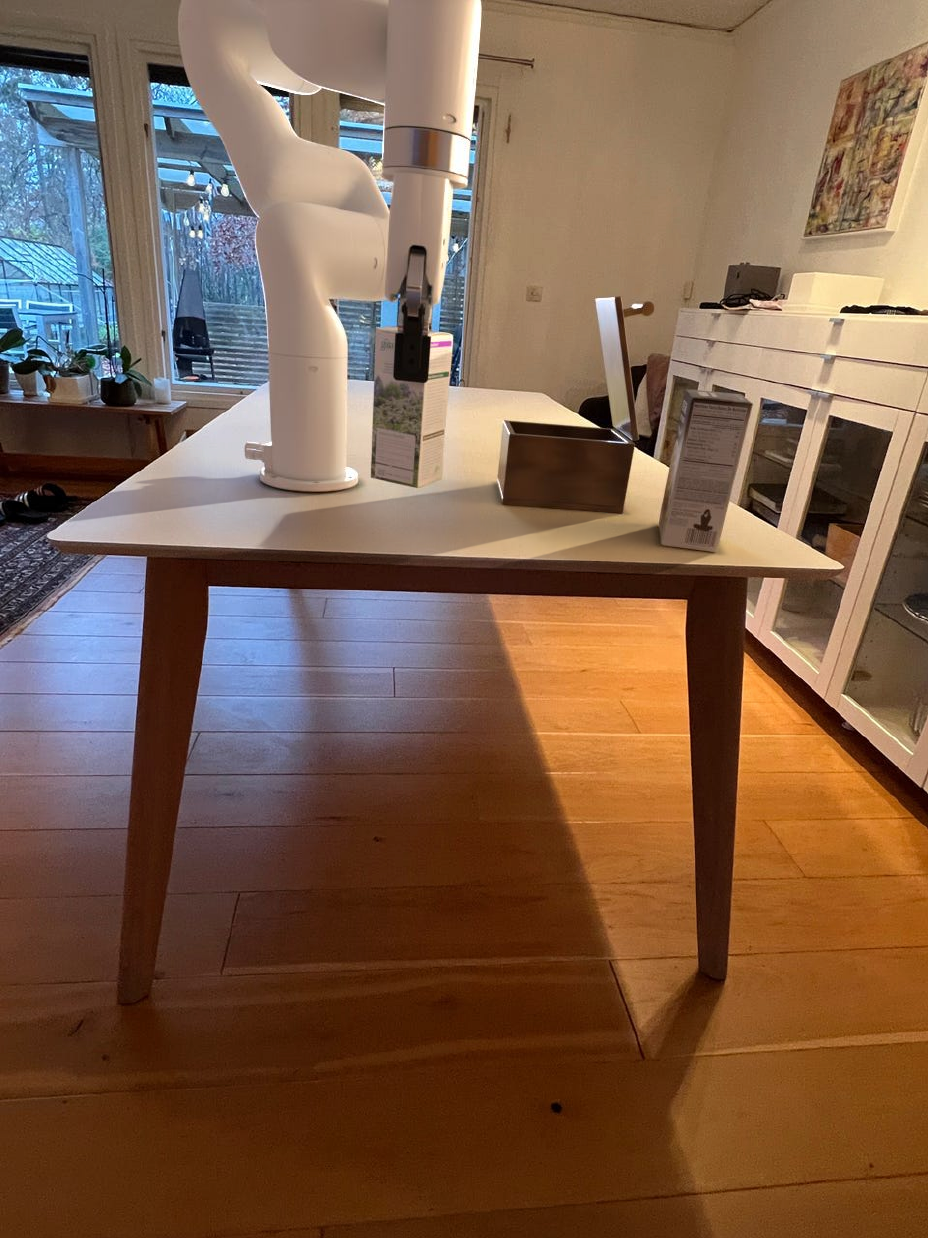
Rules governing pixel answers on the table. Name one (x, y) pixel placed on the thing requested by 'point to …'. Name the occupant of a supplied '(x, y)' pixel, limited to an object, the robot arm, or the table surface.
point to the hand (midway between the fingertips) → (413, 374)
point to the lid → (619, 359)
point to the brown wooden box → (564, 466)
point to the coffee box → (703, 468)
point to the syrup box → (409, 414)
